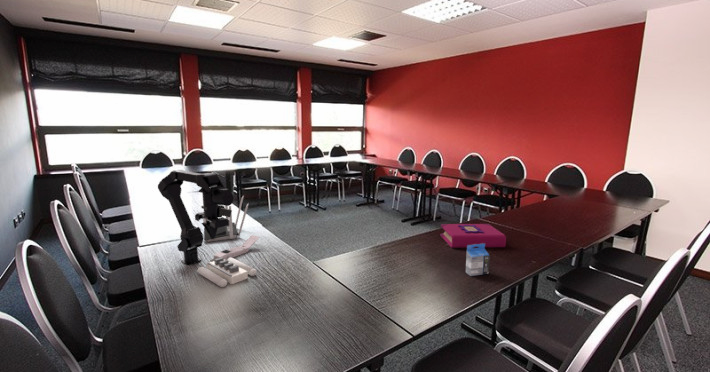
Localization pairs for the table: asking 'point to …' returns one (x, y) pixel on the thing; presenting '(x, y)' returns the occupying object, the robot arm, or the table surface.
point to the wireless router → (227, 227)
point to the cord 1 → (212, 276)
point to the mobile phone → (236, 249)
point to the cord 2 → (243, 266)
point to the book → (472, 235)
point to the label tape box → (477, 260)
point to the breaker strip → (227, 270)
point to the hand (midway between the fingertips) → (213, 238)
